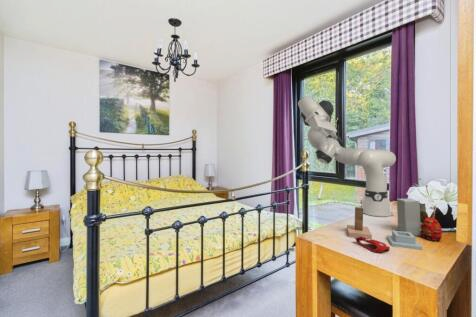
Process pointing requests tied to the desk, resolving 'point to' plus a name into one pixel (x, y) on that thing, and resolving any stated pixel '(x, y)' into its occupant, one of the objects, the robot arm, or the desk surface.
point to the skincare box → (409, 216)
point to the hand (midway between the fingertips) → (331, 137)
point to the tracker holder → (378, 244)
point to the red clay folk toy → (431, 228)
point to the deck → (358, 232)
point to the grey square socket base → (403, 240)
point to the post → (359, 218)
